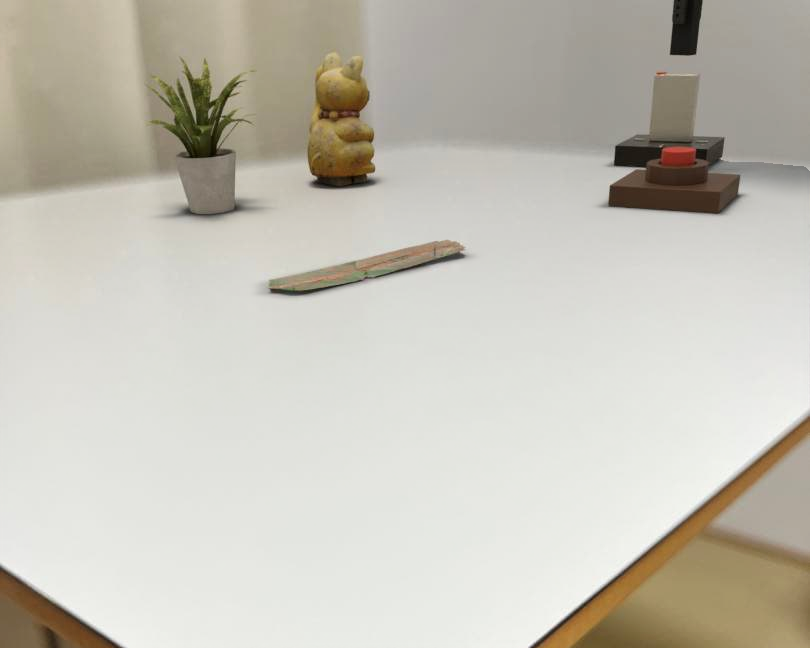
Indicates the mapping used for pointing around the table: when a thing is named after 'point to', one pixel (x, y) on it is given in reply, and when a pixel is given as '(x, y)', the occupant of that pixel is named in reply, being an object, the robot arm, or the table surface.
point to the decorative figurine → (340, 124)
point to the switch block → (675, 188)
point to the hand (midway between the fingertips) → (682, 54)
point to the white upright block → (674, 107)
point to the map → (368, 266)
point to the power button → (678, 156)
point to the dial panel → (643, 150)
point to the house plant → (203, 142)
